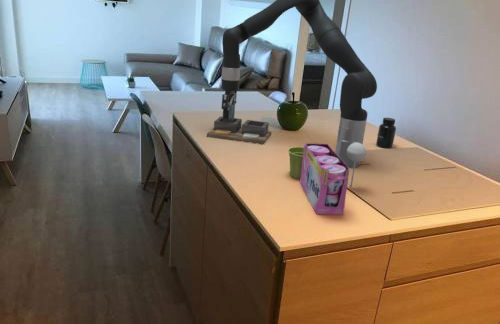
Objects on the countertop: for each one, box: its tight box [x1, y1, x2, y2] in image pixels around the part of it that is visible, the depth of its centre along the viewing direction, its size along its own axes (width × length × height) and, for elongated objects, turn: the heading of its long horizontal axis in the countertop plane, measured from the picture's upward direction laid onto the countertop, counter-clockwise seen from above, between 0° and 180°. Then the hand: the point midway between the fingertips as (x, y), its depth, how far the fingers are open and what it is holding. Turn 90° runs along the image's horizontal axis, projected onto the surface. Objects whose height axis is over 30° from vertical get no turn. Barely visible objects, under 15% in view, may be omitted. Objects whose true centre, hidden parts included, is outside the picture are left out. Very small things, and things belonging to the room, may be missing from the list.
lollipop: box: [347, 143, 367, 189], centre depth 140 cm, size 6×6×15 cm
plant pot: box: [287, 146, 304, 180], centre depth 148 cm, size 9×9×9 cm
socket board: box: [206, 115, 272, 145], centre depth 188 cm, size 16×24×6 cm, turn 77°
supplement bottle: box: [375, 117, 397, 149], centre depth 188 cm, size 7×7×12 cm
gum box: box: [299, 142, 351, 216], centre depth 131 cm, size 24×8×14 cm, turn 6°
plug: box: [222, 103, 236, 123], centre depth 190 cm, size 4×4×11 cm
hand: (228, 116), depth 190 cm, fingers open, 8 cm apart
